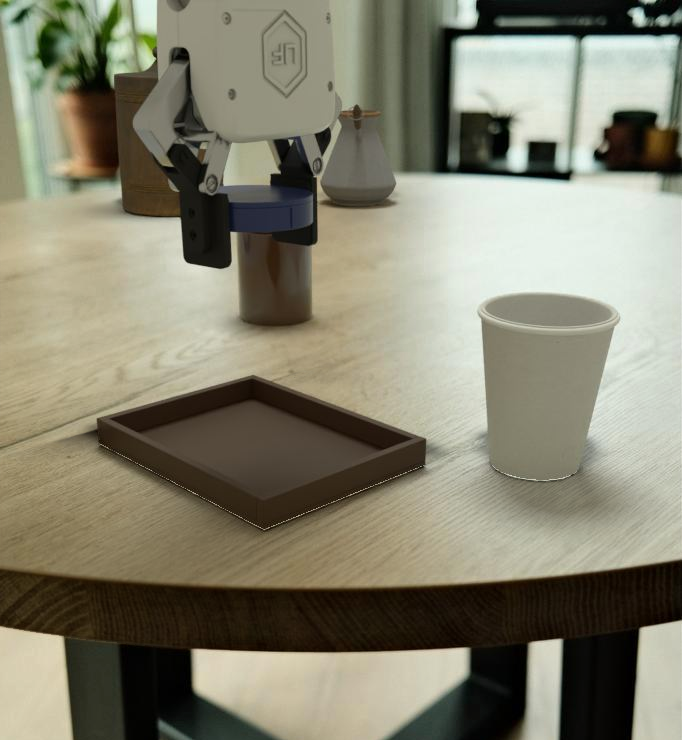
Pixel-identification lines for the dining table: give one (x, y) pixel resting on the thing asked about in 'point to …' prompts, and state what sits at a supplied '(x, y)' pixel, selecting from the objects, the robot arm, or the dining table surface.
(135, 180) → the wooden container
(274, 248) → the jar
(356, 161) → the coffee pot
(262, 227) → the lid
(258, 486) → the tray
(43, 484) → the dining table surface
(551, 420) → the dixie cup
